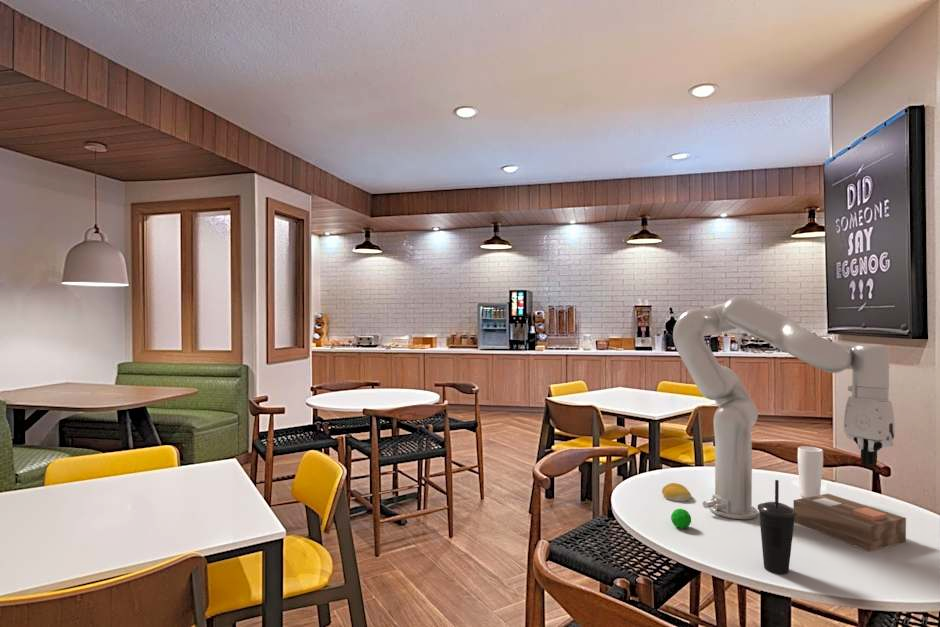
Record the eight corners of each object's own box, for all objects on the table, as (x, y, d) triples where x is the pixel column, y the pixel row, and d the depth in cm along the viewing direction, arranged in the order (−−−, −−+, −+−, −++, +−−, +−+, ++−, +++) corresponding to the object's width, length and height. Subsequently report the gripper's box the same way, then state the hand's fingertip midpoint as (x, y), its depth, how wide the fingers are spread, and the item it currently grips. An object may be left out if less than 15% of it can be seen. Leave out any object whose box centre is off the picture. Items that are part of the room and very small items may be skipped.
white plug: (829, 521, 150) (829, 506, 150) (811, 514, 154) (811, 500, 154) (842, 518, 152) (842, 503, 151) (824, 512, 156) (824, 497, 156)
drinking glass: (827, 501, 171) (828, 451, 171) (805, 501, 171) (805, 451, 171) (814, 493, 178) (814, 446, 177) (792, 493, 178) (793, 446, 178)
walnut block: (869, 551, 136) (869, 526, 136) (793, 521, 154) (793, 500, 154) (905, 541, 141) (905, 517, 141) (828, 514, 160) (828, 493, 160)
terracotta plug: (873, 532, 139) (873, 516, 139) (852, 525, 144) (852, 510, 144) (885, 529, 141) (886, 513, 141) (865, 522, 146) (865, 507, 146)
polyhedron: (674, 522, 154) (674, 505, 154) (693, 526, 151) (693, 508, 151) (668, 528, 150) (668, 510, 150) (688, 532, 147) (688, 514, 147)
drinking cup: (804, 574, 124) (805, 483, 124) (776, 579, 122) (776, 487, 121) (776, 559, 131) (776, 474, 131) (749, 564, 129) (749, 476, 129)
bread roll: (665, 502, 171) (665, 488, 171) (660, 492, 180) (660, 480, 179) (694, 503, 169) (694, 490, 169) (687, 494, 178) (687, 481, 178)
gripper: (831, 389, 148) (829, 459, 148) (892, 398, 134) (891, 475, 134) (850, 388, 151) (848, 456, 151) (912, 397, 137) (910, 472, 137)
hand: (868, 465), depth 143 cm, fingers closed
